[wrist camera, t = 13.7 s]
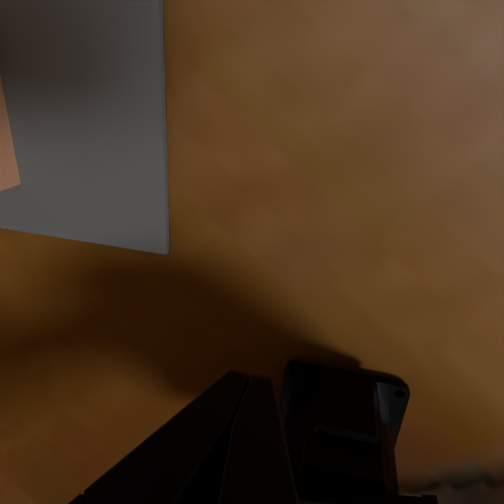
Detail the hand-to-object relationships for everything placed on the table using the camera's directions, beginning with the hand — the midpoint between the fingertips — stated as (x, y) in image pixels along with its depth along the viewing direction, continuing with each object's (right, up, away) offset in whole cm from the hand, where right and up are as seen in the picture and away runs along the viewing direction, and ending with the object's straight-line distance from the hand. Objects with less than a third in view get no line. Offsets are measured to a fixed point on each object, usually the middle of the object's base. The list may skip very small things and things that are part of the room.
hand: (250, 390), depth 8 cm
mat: (-12, +11, +12) cm, 20 cm away
